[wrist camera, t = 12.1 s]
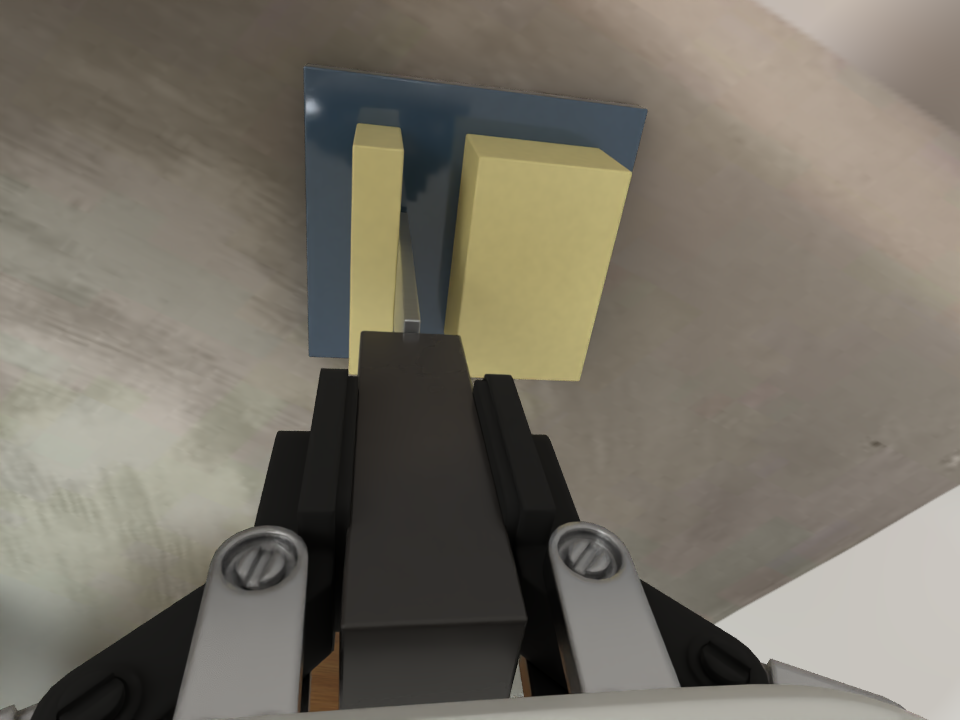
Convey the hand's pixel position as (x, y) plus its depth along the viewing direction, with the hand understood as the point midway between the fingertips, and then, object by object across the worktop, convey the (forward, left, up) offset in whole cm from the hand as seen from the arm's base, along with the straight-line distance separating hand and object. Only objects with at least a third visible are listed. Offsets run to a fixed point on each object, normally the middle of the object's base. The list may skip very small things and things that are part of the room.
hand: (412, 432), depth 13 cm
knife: (0, 0, -12) cm, 12 cm away
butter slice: (0, -1, -12) cm, 12 cm away
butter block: (0, +5, -12) cm, 13 cm away
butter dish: (0, +3, -13) cm, 13 cm away
